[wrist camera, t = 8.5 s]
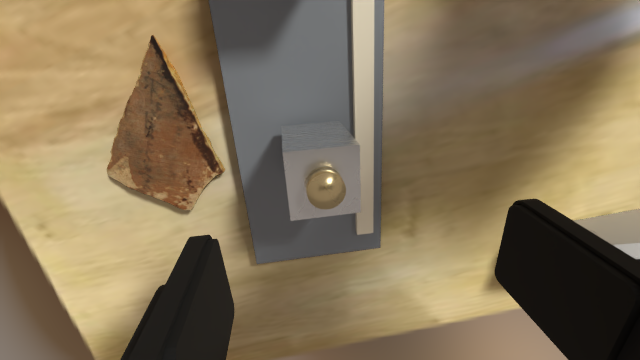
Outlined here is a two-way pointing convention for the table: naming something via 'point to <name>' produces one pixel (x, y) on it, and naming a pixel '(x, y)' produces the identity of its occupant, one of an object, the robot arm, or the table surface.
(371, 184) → the hole plate
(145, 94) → the shard
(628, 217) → the grey layered slab
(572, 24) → the table surface
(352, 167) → the block
